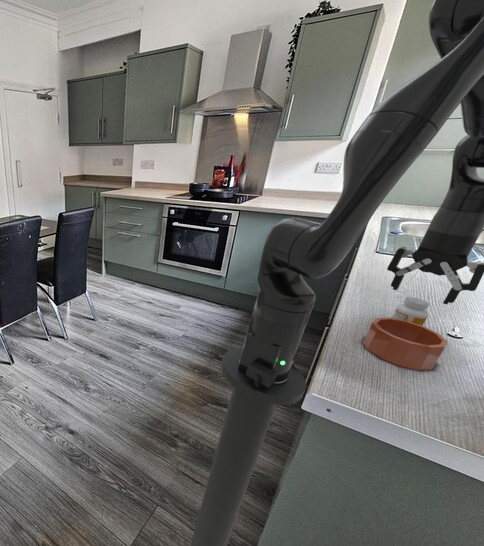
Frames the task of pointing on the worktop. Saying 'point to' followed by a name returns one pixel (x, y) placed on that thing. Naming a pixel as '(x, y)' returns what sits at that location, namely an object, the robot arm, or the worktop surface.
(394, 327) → the pot
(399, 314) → the supplement bottle
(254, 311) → the robot arm
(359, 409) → the worktop surface
